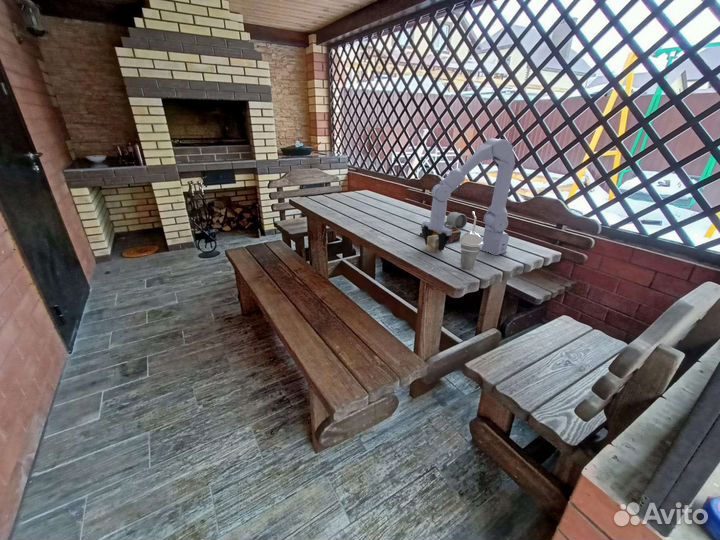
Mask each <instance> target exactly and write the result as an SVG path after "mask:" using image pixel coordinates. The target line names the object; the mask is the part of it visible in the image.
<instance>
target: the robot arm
mask: <svg viewBox="0 0 720 540" xmlns="http://www.w3.org/2000/svg"><path fill="white" fill-rule="evenodd" d="M513 147H514V146H513V145H512V143H511V142H510V141H509V140H507V139H504V138H503V139H499V138H494V137H491V138H488V139H487V140H486V141H485V142H484V143H482V144H480V146H479V147H478V149H477V150H476V151H475V152H474V153H473V154H472V155H471V156H470V157H469V158H468V159H467V160H466V161H465V163H464V164H462V166H461V167H460V168H458V169H457V168H455V169H453V170H452V169H450V171H449V172H448V175H447V176H446V177H445V178H443V179H442V180H440V181H439V183H438V184H436V185H434V186H433V187H432V190H430V194H431V196H432V202H431V210H430V220H429V221H426V220H425V221H422V223H421V224H422V225H421V226H423V227H424V228H421V233H422V232H423V235H424V236H423V237H424V243H425V246H427V238H428V236H432V233H433V231H434V230H435V231H438V232H441V233H442V234H438V238H439V251H441V252H442V251H444V249H445V248H446V245H447V244H448V243H447V241H448V239H449V238H450V237H451V235H452V230H450V229H448V228H447V227H445V226H444V223H445V222H446V213H447V205H448V200H449V199H450V197H451V196H452V193H453V192H454V191H455V190H456V189H457V188H458V187H459V186H461V184H462V183H463V182H465V180H466V176H467V175H468V174H469V173H470V172H471V171H472V170H474V169H475V168H476V167H477V166H479V164H481V163H482V162H483V161H486V160H494V161H495V163H496V164H498V168H497V174H496V177H495V184H494V189H493V195H492V200H491V204H490V206H488V208H487V211H486V213H485V214H484V216H483V223H484V224H485V226H484V231H483V237H482V241H483V242H484V243H483V244H484V245H483V246H481V248H480V250H479V251H482V250H483V252H485V251H486V252H485V253H488V252H489V253H488V254H490V253H491V255H494V256H498V255H501V254H504V253H507V252H508V250H507V248H508V243H509V239H510V237H509V234H508V233H507V232H505V230H506V229H507V227H508V226H509V220H508V216H509V214H508V211H507V208H506V207H507V202H508V196H509V193H510V188H511V182H512V178H513V174H514V169H515V163H516V158H515V154H514V151H513Z"/></svg>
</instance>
